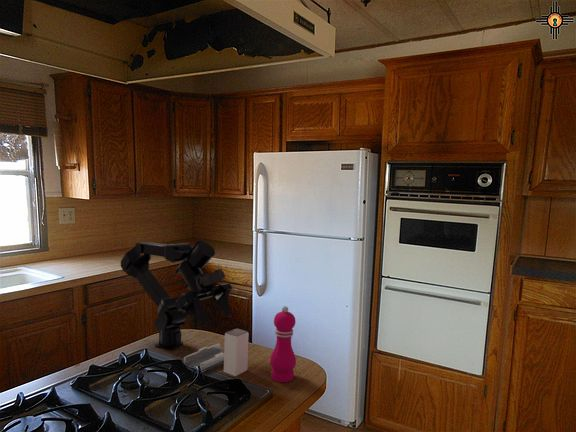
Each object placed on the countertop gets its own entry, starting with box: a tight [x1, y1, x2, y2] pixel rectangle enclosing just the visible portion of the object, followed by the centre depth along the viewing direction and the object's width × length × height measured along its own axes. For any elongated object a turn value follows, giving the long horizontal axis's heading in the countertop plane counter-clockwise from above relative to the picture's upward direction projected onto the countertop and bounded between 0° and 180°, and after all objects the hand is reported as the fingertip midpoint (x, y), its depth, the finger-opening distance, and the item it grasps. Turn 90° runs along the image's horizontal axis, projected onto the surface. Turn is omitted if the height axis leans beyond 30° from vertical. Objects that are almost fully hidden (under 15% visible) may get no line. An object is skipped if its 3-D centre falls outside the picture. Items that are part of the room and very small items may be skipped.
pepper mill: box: [269, 305, 297, 383], centre depth 108 cm, size 7×7×20 cm
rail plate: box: [182, 342, 224, 371], centre depth 117 cm, size 8×14×3 cm, turn 145°
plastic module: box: [223, 328, 249, 377], centre depth 112 cm, size 4×5×11 cm
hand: (218, 319), depth 115 cm, fingers open, 9 cm apart
